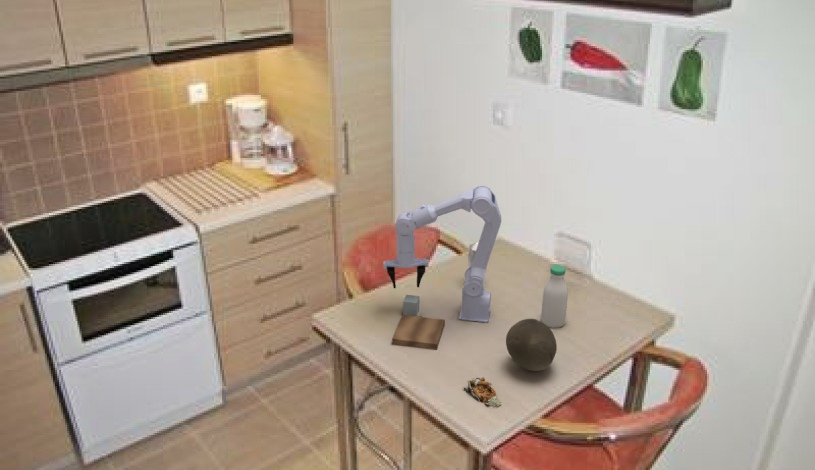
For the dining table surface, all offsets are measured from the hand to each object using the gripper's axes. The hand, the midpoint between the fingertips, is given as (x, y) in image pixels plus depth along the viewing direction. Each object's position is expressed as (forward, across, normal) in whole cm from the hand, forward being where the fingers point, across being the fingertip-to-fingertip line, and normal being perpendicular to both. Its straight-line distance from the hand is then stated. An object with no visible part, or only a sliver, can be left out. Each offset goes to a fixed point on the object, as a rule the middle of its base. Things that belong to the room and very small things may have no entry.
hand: (406, 286), depth 229 cm
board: (+9, -3, +14) cm, 17 cm away
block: (+10, -2, +1) cm, 10 cm away
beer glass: (+10, -26, -16) cm, 32 cm away
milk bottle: (+10, -47, +10) cm, 49 cm away
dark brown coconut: (+10, -34, +33) cm, 49 cm away
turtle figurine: (+10, -19, +45) cm, 50 cm away
